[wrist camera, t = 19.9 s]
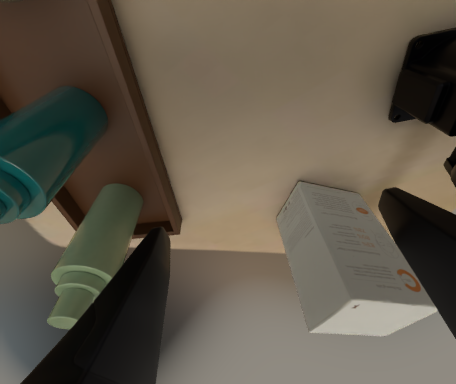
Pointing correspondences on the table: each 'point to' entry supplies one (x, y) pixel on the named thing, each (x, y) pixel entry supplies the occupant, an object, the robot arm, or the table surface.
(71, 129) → the teal bottle
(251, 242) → the table surface
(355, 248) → the small box
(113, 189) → the sage bottle
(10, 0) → the sage bottle
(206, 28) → the table surface
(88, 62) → the tray
